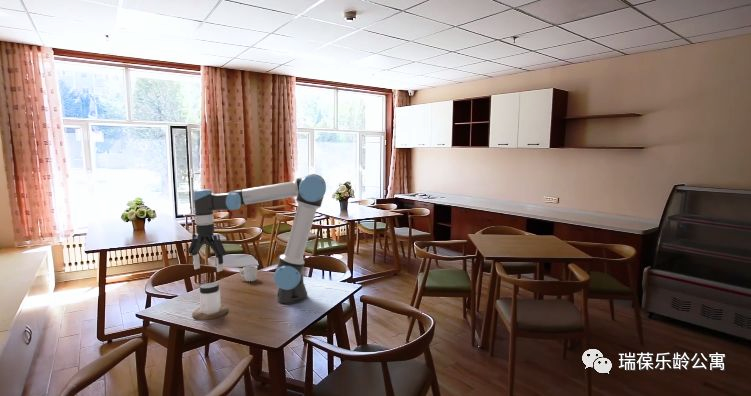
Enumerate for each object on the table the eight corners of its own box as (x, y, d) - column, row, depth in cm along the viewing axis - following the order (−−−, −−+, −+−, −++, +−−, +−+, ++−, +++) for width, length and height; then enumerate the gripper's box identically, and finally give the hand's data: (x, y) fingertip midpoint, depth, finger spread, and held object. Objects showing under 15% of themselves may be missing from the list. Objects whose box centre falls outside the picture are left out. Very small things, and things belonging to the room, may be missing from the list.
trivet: (234, 309, 183) (234, 306, 183) (210, 322, 169) (210, 319, 169) (210, 305, 188) (210, 303, 188) (185, 317, 175) (184, 314, 174)
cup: (236, 282, 224) (236, 268, 224) (243, 278, 232) (242, 265, 231) (254, 282, 223) (253, 269, 222) (260, 278, 230) (259, 265, 230)
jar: (196, 312, 176) (194, 287, 175) (210, 306, 184) (208, 281, 183) (211, 315, 173) (210, 289, 172) (224, 308, 181) (223, 283, 179)
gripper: (232, 223, 173) (235, 269, 175) (191, 221, 183) (194, 265, 185) (220, 226, 166) (223, 274, 168) (177, 224, 176) (181, 269, 178)
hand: (208, 269), depth 177 cm, fingers open, 13 cm apart
